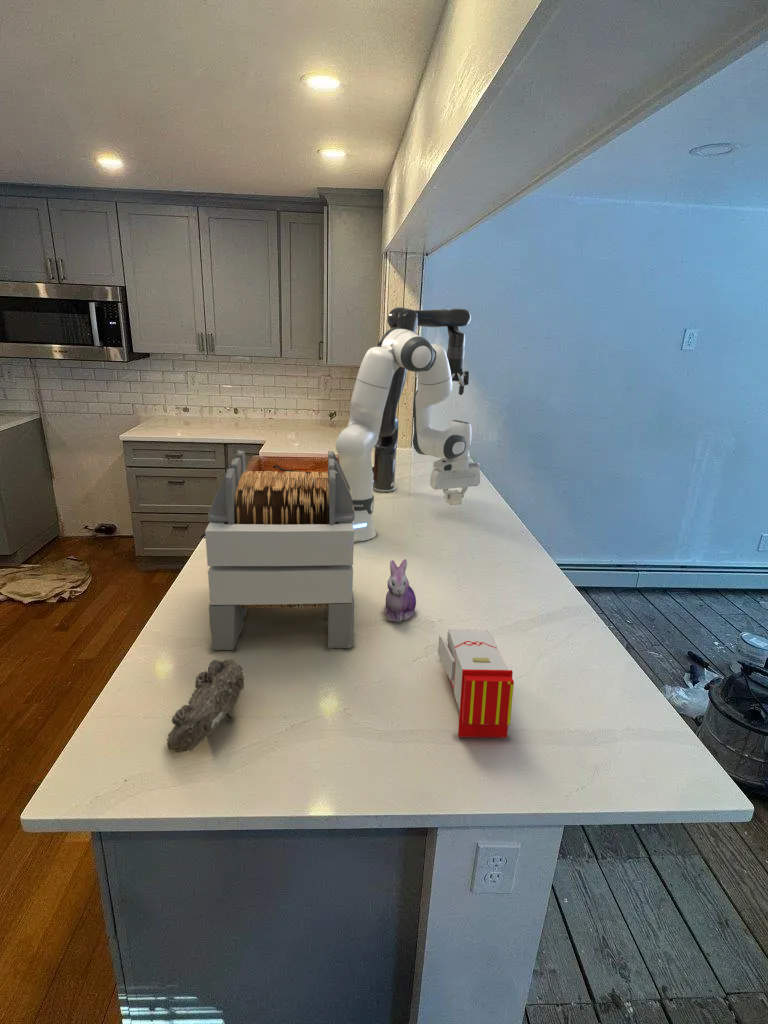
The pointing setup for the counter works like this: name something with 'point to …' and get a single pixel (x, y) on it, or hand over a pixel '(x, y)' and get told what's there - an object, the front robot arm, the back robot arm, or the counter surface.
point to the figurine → (399, 594)
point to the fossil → (206, 705)
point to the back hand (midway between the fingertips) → (452, 394)
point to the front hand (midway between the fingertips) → (453, 498)
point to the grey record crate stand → (280, 548)
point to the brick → (454, 497)
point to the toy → (478, 682)
